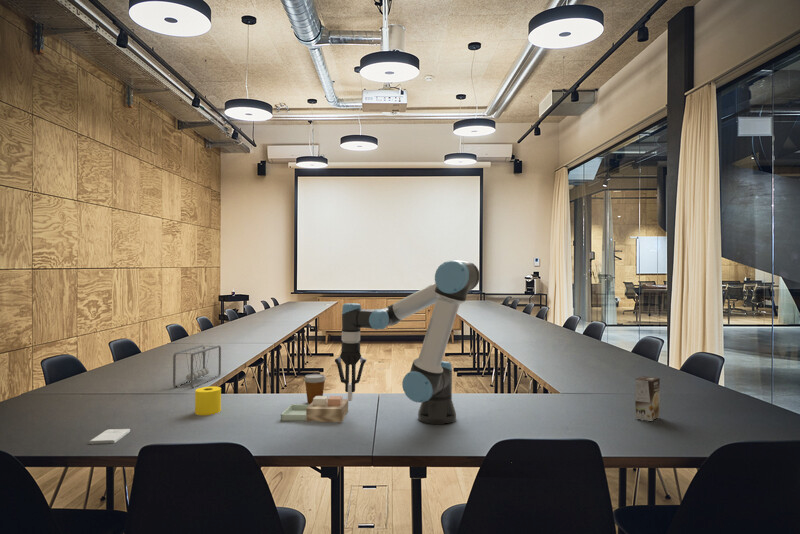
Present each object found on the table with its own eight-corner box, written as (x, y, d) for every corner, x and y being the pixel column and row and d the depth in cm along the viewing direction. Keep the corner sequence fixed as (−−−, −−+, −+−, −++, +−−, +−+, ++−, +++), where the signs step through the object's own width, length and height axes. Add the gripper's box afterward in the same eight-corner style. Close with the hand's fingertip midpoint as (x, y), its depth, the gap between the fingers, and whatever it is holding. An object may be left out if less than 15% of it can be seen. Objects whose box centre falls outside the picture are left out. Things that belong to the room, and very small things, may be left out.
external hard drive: (88, 445, 167) (106, 433, 179) (114, 444, 168) (130, 432, 180) (88, 440, 167) (106, 429, 179) (114, 440, 168) (130, 428, 180)
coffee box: (651, 422, 192) (651, 381, 192) (634, 419, 197) (634, 378, 197) (660, 417, 198) (659, 377, 199) (643, 414, 203) (643, 375, 203)
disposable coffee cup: (321, 406, 215) (321, 378, 215) (300, 405, 217) (300, 377, 217) (328, 400, 224) (328, 374, 224) (308, 399, 226) (308, 373, 226)
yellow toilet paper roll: (225, 411, 206) (225, 389, 206) (201, 416, 199) (202, 393, 199) (213, 407, 213) (214, 385, 213) (190, 412, 205) (191, 389, 206)
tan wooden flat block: (348, 411, 207) (348, 399, 207) (341, 422, 192) (341, 409, 192) (315, 410, 208) (315, 398, 208) (306, 421, 193) (306, 408, 193)
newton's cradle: (192, 389, 246) (192, 353, 247) (172, 388, 248) (172, 352, 248) (221, 376, 276) (221, 344, 276) (203, 376, 277) (203, 344, 278)
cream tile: (328, 402, 202) (328, 396, 202) (325, 405, 197) (325, 399, 197) (315, 401, 203) (315, 395, 203) (313, 405, 198) (313, 398, 198)
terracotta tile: (342, 402, 202) (342, 396, 202) (340, 405, 197) (340, 399, 197) (330, 402, 202) (330, 396, 202) (327, 405, 197) (327, 399, 197)
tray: (314, 410, 208) (314, 404, 208) (305, 421, 193) (305, 414, 193) (291, 410, 208) (291, 404, 208) (280, 420, 193) (280, 414, 193)
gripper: (368, 340, 203) (367, 398, 203) (336, 339, 204) (335, 397, 204) (365, 343, 196) (364, 403, 195) (333, 342, 196) (332, 402, 196)
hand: (350, 400), depth 200 cm, fingers closed
